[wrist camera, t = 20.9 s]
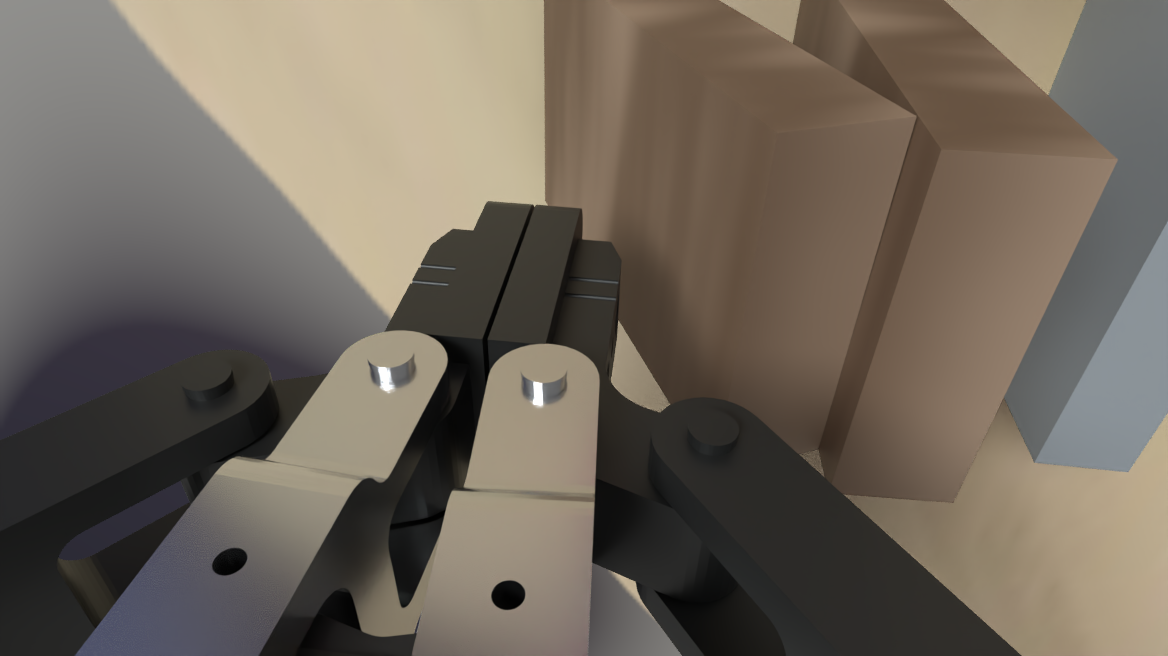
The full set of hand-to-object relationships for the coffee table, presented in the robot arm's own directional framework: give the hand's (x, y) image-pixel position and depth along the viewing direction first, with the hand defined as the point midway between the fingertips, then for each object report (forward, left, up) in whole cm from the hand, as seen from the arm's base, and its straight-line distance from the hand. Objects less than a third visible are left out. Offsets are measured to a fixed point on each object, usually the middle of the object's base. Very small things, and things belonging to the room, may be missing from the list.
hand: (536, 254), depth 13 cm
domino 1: (0, 0, -8) cm, 8 cm away
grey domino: (-12, +6, -5) cm, 14 cm away
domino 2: (-6, 0, -8) cm, 10 cm away
